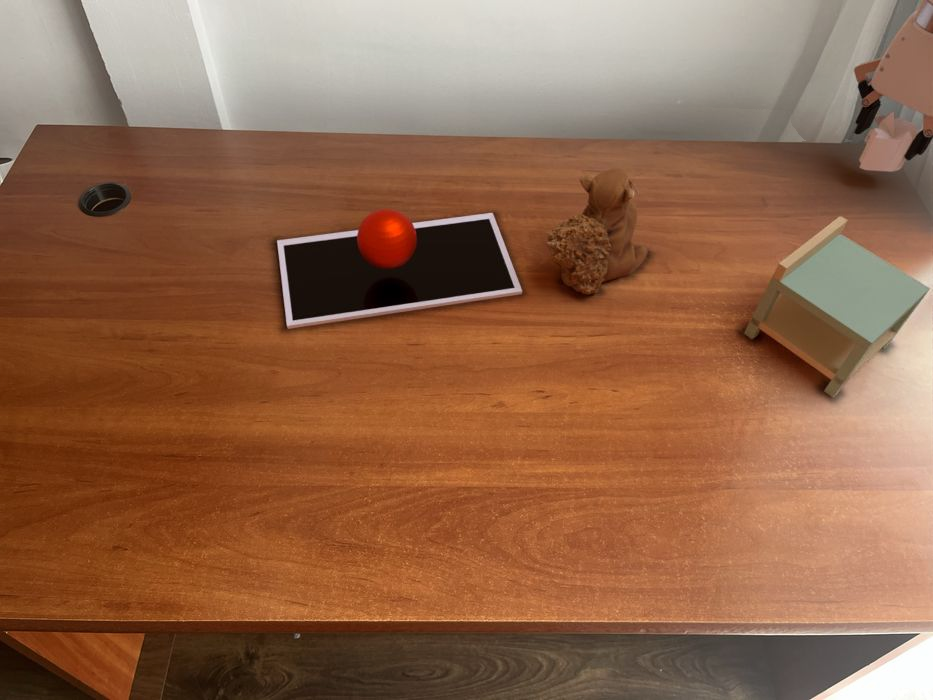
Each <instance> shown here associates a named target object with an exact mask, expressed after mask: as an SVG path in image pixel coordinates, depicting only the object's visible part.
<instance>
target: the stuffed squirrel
mask: <svg viewBox="0 0 933 700" xmlns="http://www.w3.org/2000/svg"><path fill="white" fill-rule="evenodd" d="M579 182H580V184H581V187H582V188H583V189H584V191H585V192H586V193H587V194H588V200H587V205H586V206H585V208H584V210H583V211H582V212H581V213H580V214H579V213H574V214H572V215H571V218H568V220H563V222H562V223H560V224H559V225H555V226H554V228H552V229H551V230H548V231H547V232H545V235H546V240H547V242H543V245H544V246H546V247H545V248H546V249H547V248H548V250H550V258H551V259H552V261H553V262H554V263H557V264H558V265H560V266H561V268H560V269H561V273H560V276H561V280H562V281H563V283H564V285H565V286H567V287H571V288H572V289H573V290H574V291H575V292H578V293H579V292H580V293H581V294H582V295H593V294H597V293H598V292H599V290H600V289H601V285H602V284H603V283H604V282H607V281H611V280H614V279H619V278H622V277H626V276H631V274H632V273H634V272H635V270H637V269H638V268H639V267H640V266H641V265H642V264H643V262H645V259H646V258H647V256H648V251H649V250H648V249H647V247H645V246H643V245H642V244H633V241H632V238H633V235H634V231H635V229H636V224H637V220H638V206H637V204H636V203H635V202H634V201H632V200H631V199H633V198H634V196H635V193H637V194H639V193H640V192H639V189H638V188H637V186H636V185H635V184H634V182H632V180H631V179H629V177H628V174H627V173H626V171H624V170H623V169H620V168H613V169H609V170H605V171H603V172H599V173H598V174H596V175H595V176H594V177H591V176H590V175H588V174H582V175H581V176H580V178H579ZM633 187H634V189H635V191H634V189H633Z"/></svg>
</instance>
